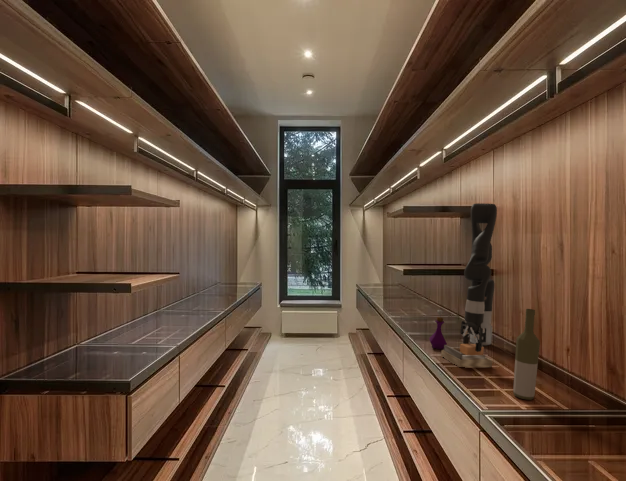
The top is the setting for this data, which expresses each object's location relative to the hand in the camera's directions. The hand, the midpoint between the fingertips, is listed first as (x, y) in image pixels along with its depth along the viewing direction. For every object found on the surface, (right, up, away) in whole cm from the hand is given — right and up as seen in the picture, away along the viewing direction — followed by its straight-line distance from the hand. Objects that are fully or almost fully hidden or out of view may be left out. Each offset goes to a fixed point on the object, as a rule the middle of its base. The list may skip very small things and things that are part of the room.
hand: (471, 348), depth 171 cm
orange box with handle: (0, -3, 0) cm, 3 cm away
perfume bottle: (-9, -5, +19) cm, 21 cm away
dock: (-3, -6, 0) cm, 6 cm away
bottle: (+3, -7, -36) cm, 37 cm away
